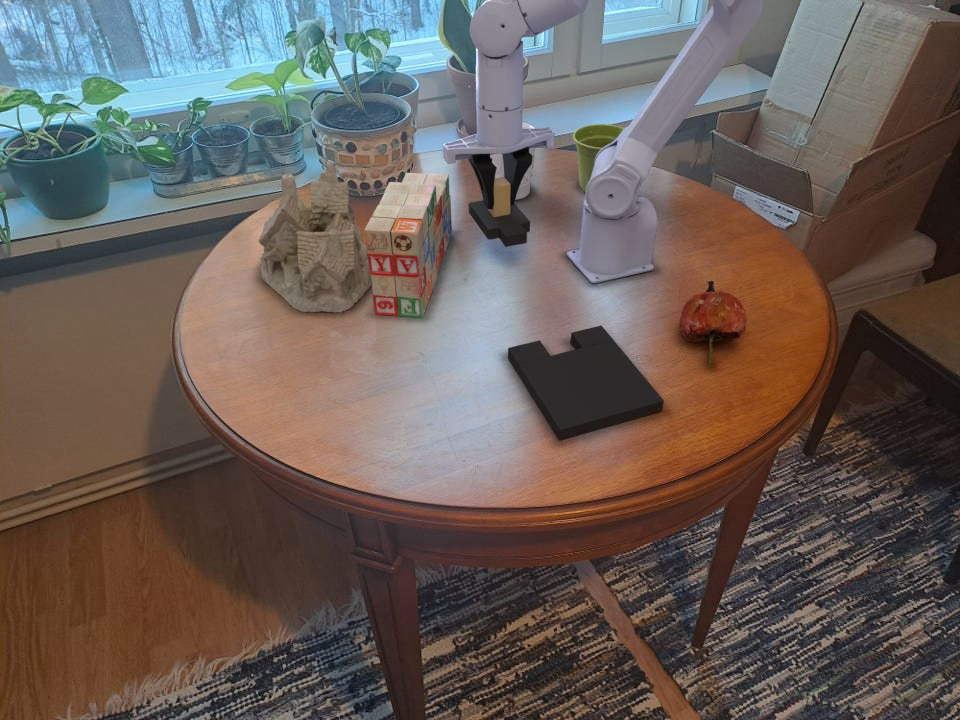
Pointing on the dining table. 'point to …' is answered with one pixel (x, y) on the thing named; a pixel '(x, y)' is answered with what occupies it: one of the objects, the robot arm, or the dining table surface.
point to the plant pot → (592, 146)
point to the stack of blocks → (408, 243)
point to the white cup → (526, 181)
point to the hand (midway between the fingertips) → (499, 204)
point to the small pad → (501, 217)
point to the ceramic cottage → (315, 247)
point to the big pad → (584, 383)
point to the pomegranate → (713, 317)
